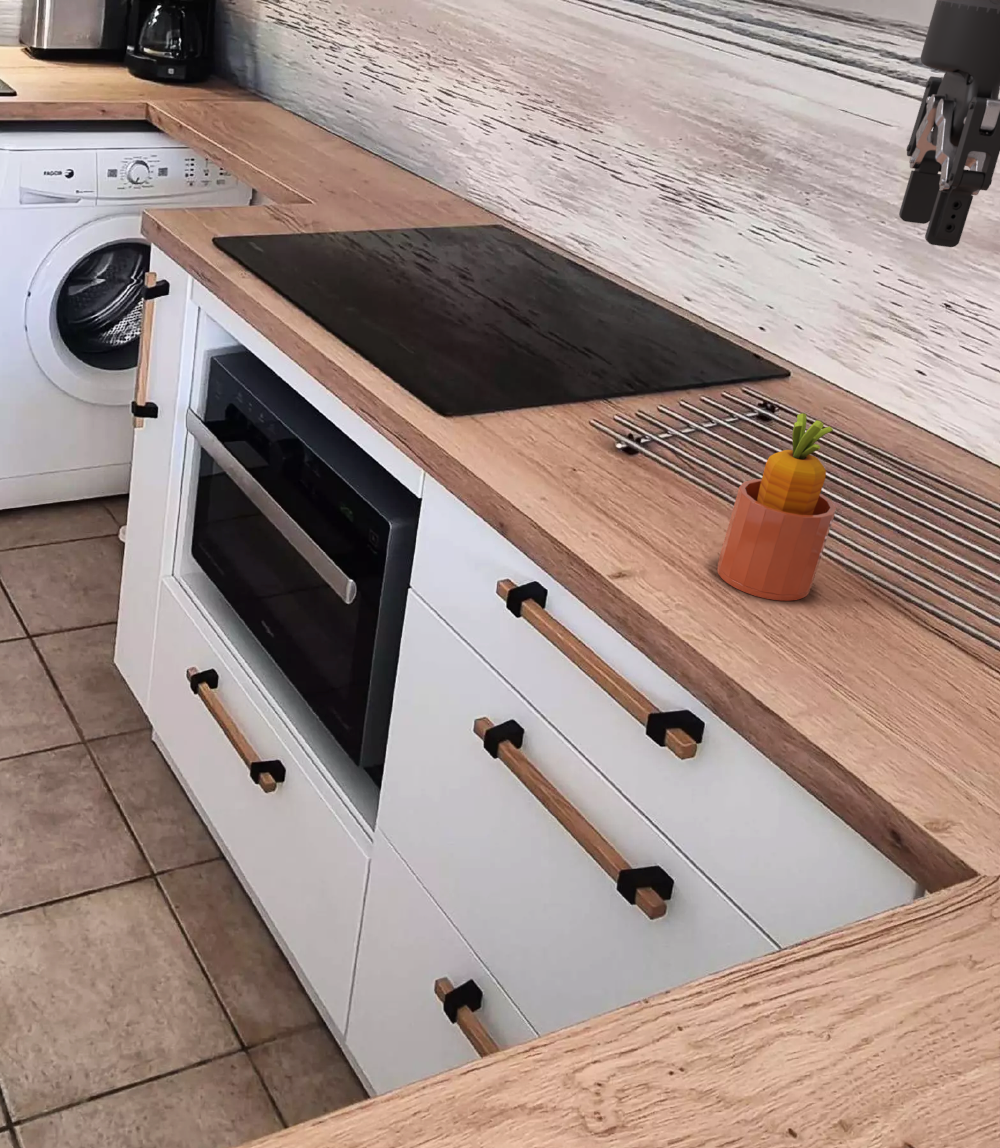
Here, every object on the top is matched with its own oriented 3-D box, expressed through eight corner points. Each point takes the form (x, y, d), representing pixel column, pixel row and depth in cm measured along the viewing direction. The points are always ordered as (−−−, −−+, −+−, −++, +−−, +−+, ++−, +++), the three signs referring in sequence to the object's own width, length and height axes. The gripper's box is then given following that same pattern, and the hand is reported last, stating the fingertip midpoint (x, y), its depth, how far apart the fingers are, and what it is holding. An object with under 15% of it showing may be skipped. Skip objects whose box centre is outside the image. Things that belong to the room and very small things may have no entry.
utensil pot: (801, 568, 137) (826, 488, 133) (816, 607, 130) (843, 523, 126) (712, 553, 138) (734, 473, 134) (722, 591, 130) (746, 507, 127)
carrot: (740, 556, 136) (786, 400, 129) (796, 572, 134) (845, 415, 128) (731, 576, 132) (777, 416, 125) (789, 592, 130) (839, 431, 124)
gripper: (1084, 16, 98) (1005, 261, 105) (1021, 1, 111) (954, 221, 118) (965, 2, 99) (894, 246, 106) (916, -11, 112) (855, 208, 119)
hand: (926, 233), depth 112 cm, fingers open, 8 cm apart
